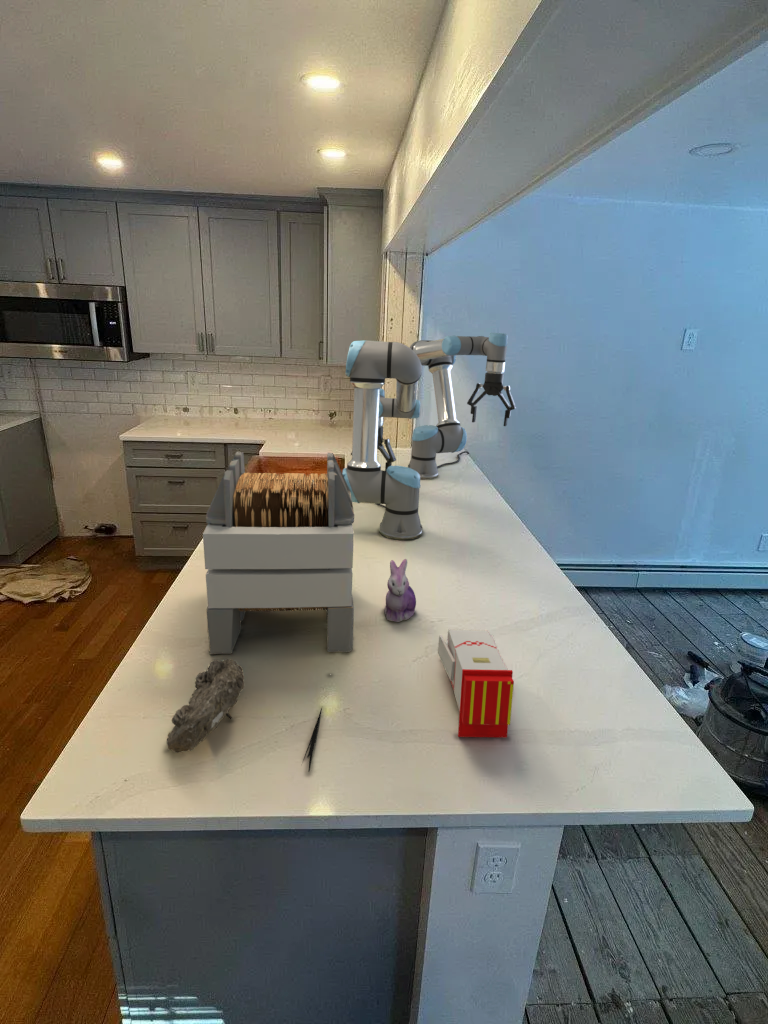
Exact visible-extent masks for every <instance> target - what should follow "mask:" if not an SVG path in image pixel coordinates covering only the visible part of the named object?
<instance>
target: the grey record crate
mask: <svg viewBox="0 0 768 1024" xmlns="http://www.w3.org/2000/svg"><path fill="white" fill-rule="evenodd" d="M244 455H245V454H244V451H242V452H241V451H236V452H235V454H234V456H233V458H232V459H230V463H229V465H228V467H227V469H226V470H224V473H223V475H222V478H221V479H220V482H219V484H218V487H217V489H216V491H215V494H214V495H213V497H212V500H211V502H210V505H209V507H208V509H207V511H206V515H205V523H206V524H207V525H206V527H205V529H204V531H203V533H202V543H203V558H204V569H205V570H206V573H205V584H206V587H205V588H206V598H207V599H206V601H207V607H206V623H207V634H208V641H209V642H208V643H209V650H208V653H209V655H216V654H217V655H218V654H221V655H222V654H223V655H226V654H227V655H228V654H230V655H231V654H232V653H233V650H234V648H235V647H236V643H237V641H238V638H239V636H240V634H241V630H242V626H241V625H242V623H241V622H243V621H244V618H245V615H246V612H272V611H273V612H279V611H280V612H284V611H286V612H288V611H289V612H291V611H292V612H293V611H294V612H295V611H303V612H304V611H322V610H323V611H326V636H327V637H326V641H327V645H326V646H327V652H329V653H330V652H332V653H333V652H343V653H349V652H351V651H352V650H354V617H355V616H354V614H355V607H354V598H353V575H354V573H353V566H354V563H353V562H354V537H355V536H354V535H355V532H354V527H353V524H354V522H355V511H354V506H353V505H354V504H353V502H352V499H351V493H350V492H351V491H350V489H349V487H348V485H347V483H346V481H345V478H344V476H343V474H342V472H343V471H342V470H341V467H340V465H339V463H338V461H337V459H336V457H335V455H334V453H333V452H327V453H326V456H327V457H326V468H327V469H326V473H320V474H318V473H307V474H306V473H303V472H302V473H299V472H298V473H297V472H294V473H293V472H292V473H291V472H290V473H288V472H283V473H276V472H273V473H271V472H263V473H262V472H259V473H258V472H253V473H252V472H245V468H246V467H245V456H244Z"/></svg>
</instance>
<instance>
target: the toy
mask: <svg viewBox="0 0 768 1024" xmlns="http://www.w3.org/2000/svg"><path fill="white" fill-rule="evenodd" d="M446 640H447V643H446V641H445V639H444V636H443V635H442V634H439V637H438V646H437V656H438V657H439V659H440V661H441V663H442V666H443V668H444V670H445V672H446V674H447V677H448V679H449V681H450V684H451V687H452V690H453V693H454V697H455V701H456V705H457V708H458V711H459V714H458V715H459V716H458V730H457V731H458V732H457V737H458V738H508V731H509V726H510V725H511V717H512V707H513V697H514V696H513V695H514V684H515V680H514V679H513V673H514V671H513V670H512V669H508V667H507V665H506V662H505V661H504V659H503V658H502V655H501V653H500V651H499V649H498V647H497V643H496V639H495V637H494V635H493V634H491V632H490V631H489V629H467V628H466V629H465V628H463V629H461V628H460V629H459V628H448V630H447V639H446Z"/></svg>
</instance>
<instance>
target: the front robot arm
mask: <svg viewBox="0 0 768 1024" xmlns="http://www.w3.org/2000/svg"><path fill="white" fill-rule="evenodd" d="M347 351H348V352H347V357H346V363H345V376H346V377H347V378H349V383H350V385H351V386H352V387H353V389H354V390H353V391H354V392H353V412H352V413H353V416H352V441H351V442H352V444H351V453H350V456H351V459H350V460H349V461H348V462H347V463H346V467H344V468H343V469H342V471H341V472H342V474H343V476H344V478H345V481H346V483H347V485H348V487H349V489H350V491H351V492H350V493H351V499H352V503H357V504H372V505H373V504H374V505H377V506H379V507H382V508H384V513H383V515H382V519H381V522H379V526H378V533H379V534H380V535H381V536H382V537H385V538H387V539H389V540H395V541H410V540H415V539H418V538H420V537H421V536H422V535H423V525H422V524H421V518H420V515H419V507H420V506H419V505H420V504H419V503H420V489H421V479H420V475H419V473H418V472H417V471H415V470H413V469H411V468H408V466H404V465H392V463H395V461H397V457H396V455H395V453H394V449H393V448H392V445H391V439H390V438H384V427H383V426H384V418H392V419H393V418H394V419H395V418H396V419H409V420H412V419H419V418H420V413H421V401H420V399H417V394H418V383H419V381H420V379H421V377H422V373H423V367H422V365H421V362H420V360H419V358H418V356H417V355H416V353H415V352H414V351H413V350H412V349H411V348H410V346H408V345H406V344H404V343H402V342H398V341H382V340H366V339H365V340H354V341H352V342H351V343H350V345H349V348H348V350H347ZM386 379H389V380H390V379H395V380H396V383H395V385H396V386H395V387H396V389H395V396H396V397H393V398H392V397H386V396H385V395H386V393H385V389H383V387H384V385H385V384H386ZM378 451H379V452H380V454H381V456H382V457H383V458H384V459H385V461H386V462H385V465H384V468H385V469H384V470H383V469H382V464H381V463H380V462H379V460H378Z"/></svg>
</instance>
